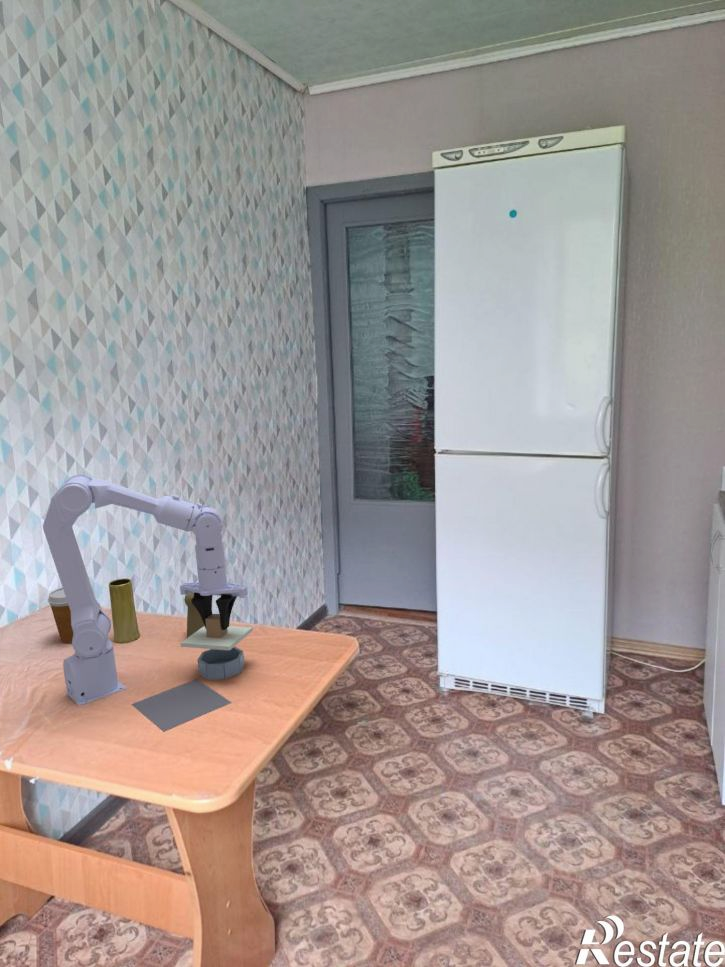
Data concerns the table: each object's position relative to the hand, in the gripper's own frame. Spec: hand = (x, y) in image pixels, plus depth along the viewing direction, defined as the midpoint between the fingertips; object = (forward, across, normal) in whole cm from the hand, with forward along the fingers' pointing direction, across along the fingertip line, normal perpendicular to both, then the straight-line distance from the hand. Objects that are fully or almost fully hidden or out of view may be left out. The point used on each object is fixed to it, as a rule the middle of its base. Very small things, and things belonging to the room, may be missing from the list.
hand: (217, 627), depth 142 cm
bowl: (+10, 0, 0) cm, 10 cm away
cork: (+10, -14, +17) cm, 24 cm away
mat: (+10, -1, -14) cm, 18 cm away
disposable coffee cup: (+10, -45, +10) cm, 47 cm away
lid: (+2, 0, 0) cm, 2 cm away
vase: (+10, -32, +12) cm, 35 cm away
